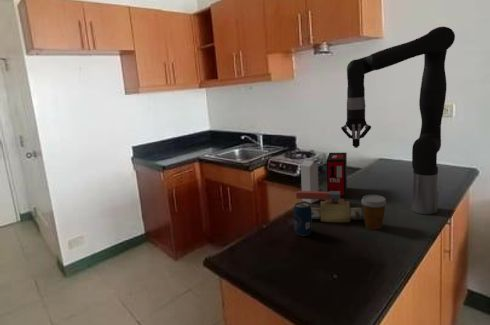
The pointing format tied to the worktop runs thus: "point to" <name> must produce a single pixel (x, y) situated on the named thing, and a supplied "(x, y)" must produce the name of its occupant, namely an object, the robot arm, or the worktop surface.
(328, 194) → the lever
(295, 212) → the soda can
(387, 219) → the worktop surface
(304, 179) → the milk
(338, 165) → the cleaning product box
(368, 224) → the disposable coffee cup
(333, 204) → the pipe valve
